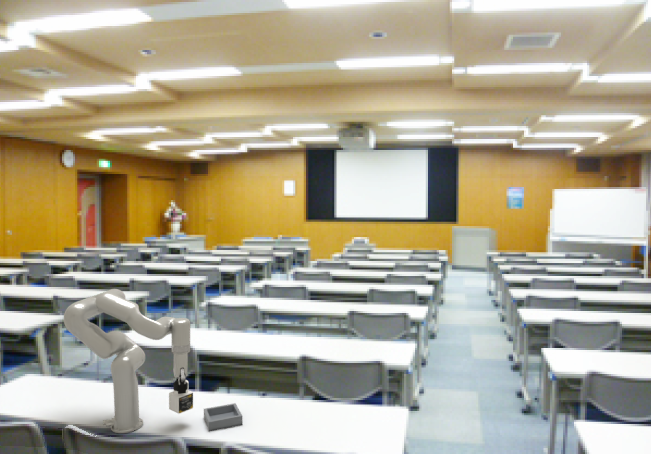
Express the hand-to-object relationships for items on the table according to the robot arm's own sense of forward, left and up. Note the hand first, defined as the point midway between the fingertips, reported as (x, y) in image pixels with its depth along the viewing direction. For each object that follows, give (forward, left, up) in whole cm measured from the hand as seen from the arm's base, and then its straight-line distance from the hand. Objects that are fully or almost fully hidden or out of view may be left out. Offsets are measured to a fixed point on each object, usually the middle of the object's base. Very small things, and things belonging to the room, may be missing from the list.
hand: (181, 389), depth 200 cm
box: (+17, -2, -16) cm, 23 cm away
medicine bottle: (0, 0, -8) cm, 8 cm away
